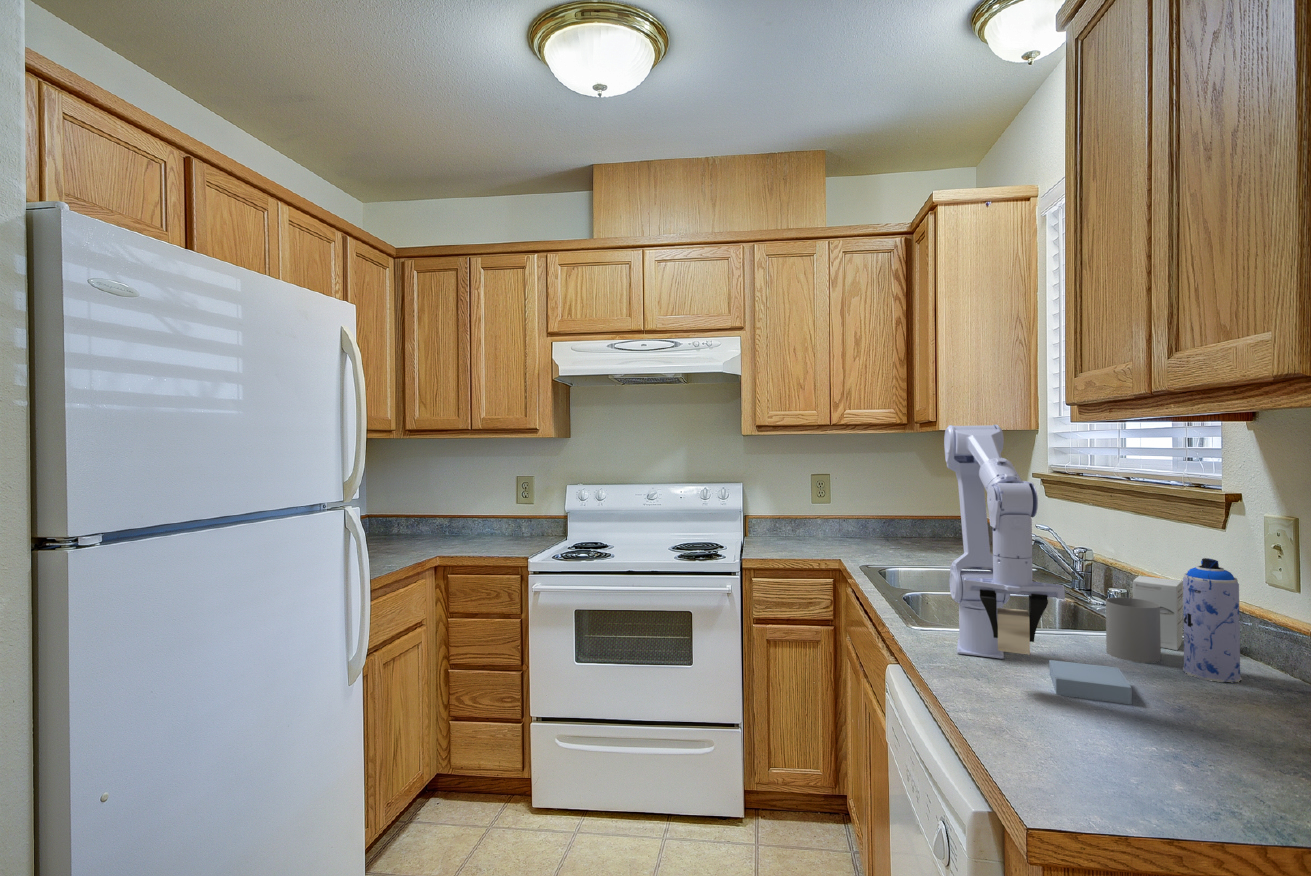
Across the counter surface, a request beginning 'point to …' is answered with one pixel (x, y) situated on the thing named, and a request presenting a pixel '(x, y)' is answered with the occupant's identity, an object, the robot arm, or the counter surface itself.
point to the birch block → (1013, 630)
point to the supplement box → (1164, 606)
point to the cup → (1133, 629)
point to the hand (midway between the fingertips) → (1013, 638)
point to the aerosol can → (1211, 623)
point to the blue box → (1090, 682)
